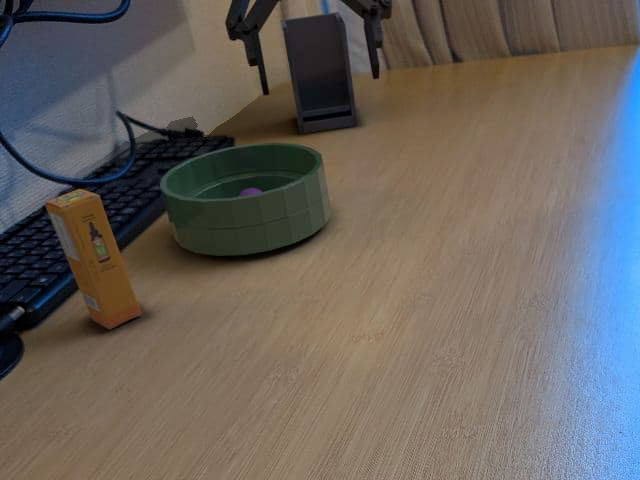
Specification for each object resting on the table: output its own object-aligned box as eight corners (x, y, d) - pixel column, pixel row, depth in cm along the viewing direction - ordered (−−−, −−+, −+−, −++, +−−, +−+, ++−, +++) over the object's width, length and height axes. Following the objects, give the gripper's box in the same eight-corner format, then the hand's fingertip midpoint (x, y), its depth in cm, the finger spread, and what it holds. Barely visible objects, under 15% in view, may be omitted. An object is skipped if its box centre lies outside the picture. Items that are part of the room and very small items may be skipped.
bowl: (180, 212, 85) (164, 157, 82) (324, 189, 86) (315, 134, 83) (173, 272, 74) (154, 211, 70) (338, 246, 75) (329, 184, 71)
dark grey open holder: (296, 118, 107) (280, 20, 99) (351, 110, 107) (338, 11, 100) (300, 134, 101) (283, 32, 94) (357, 125, 102) (345, 23, 94)
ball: (248, 236, 79) (257, 217, 81) (272, 221, 78) (280, 202, 80) (225, 210, 78) (234, 191, 79) (248, 193, 76) (257, 175, 78)
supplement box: (123, 304, 70) (81, 185, 64) (143, 316, 68) (102, 193, 62) (88, 319, 69) (41, 198, 62) (107, 332, 67) (61, 208, 60)
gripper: (390, -75, 105) (420, 84, 104) (195, -49, 103) (223, 113, 102) (392, -126, 97) (424, 45, 96) (182, -98, 96) (212, 75, 95)
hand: (321, 80), depth 99 cm, fingers open, 13 cm apart
